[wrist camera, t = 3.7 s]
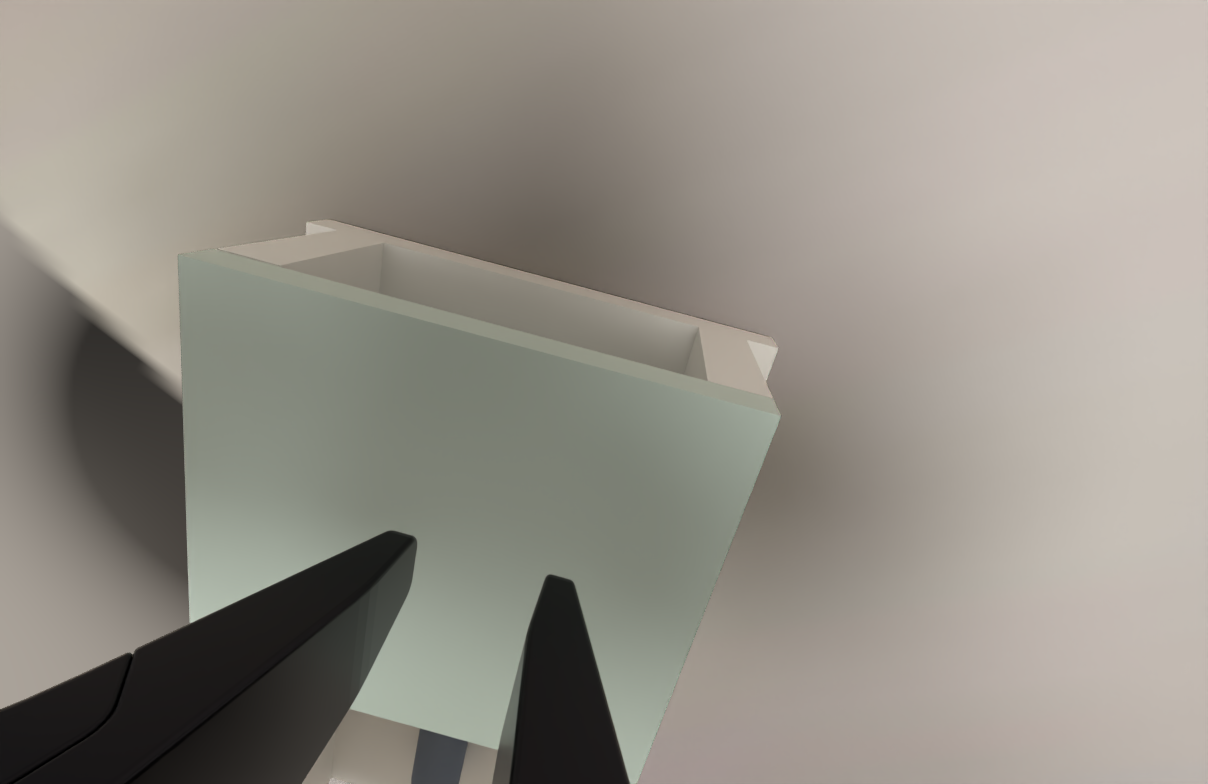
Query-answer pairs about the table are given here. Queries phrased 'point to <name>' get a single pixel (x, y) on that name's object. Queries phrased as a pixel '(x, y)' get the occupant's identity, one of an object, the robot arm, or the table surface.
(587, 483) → the lid outer
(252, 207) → the table surface
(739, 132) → the table surface
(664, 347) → the white tray
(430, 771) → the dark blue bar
